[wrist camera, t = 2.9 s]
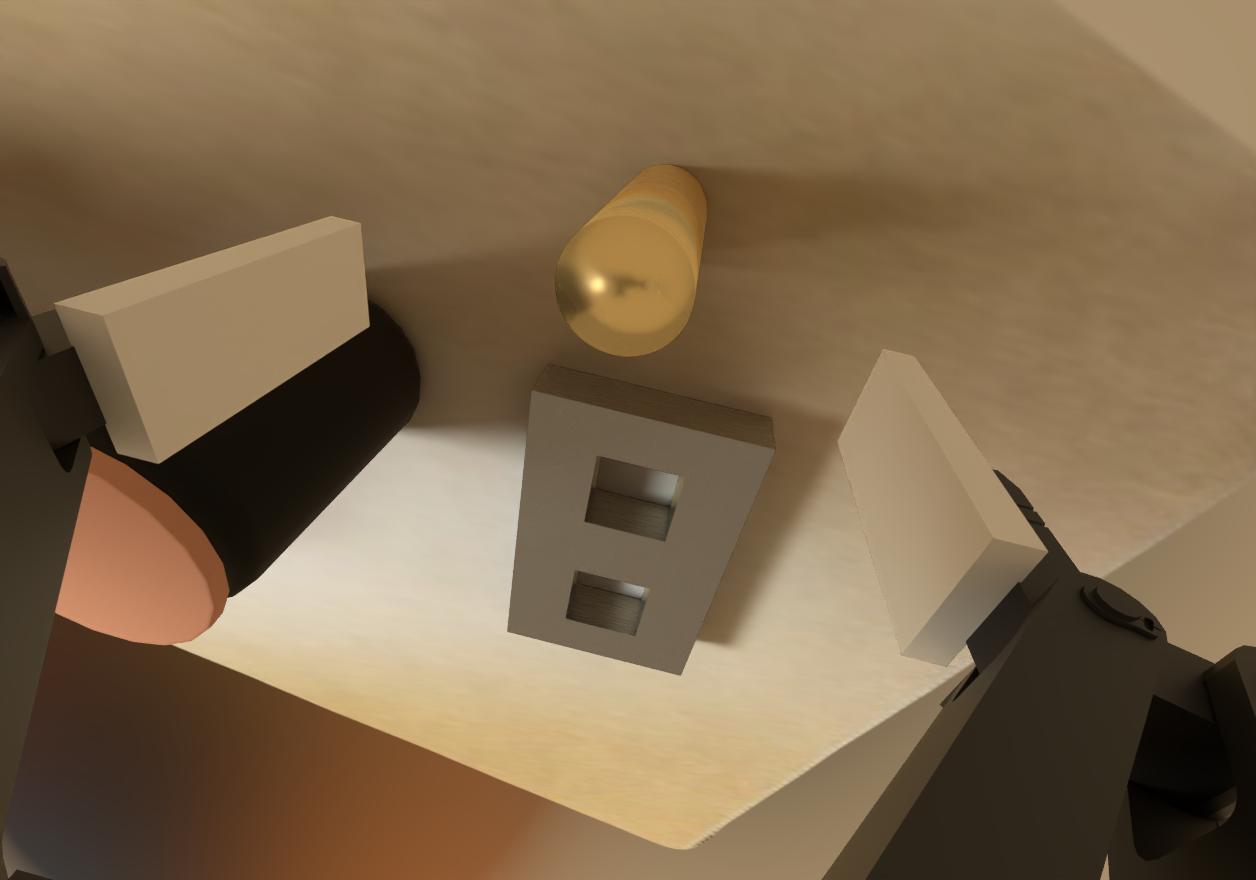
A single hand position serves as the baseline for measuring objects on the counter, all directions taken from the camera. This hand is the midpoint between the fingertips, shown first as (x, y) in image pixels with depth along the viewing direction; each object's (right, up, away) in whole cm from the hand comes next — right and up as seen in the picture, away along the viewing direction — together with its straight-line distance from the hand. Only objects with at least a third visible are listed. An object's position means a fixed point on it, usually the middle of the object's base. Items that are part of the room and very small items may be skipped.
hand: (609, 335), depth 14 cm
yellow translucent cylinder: (+2, +9, +14) cm, 17 cm away
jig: (0, -9, +26) cm, 27 cm away
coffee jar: (-18, +3, +22) cm, 28 cm away
